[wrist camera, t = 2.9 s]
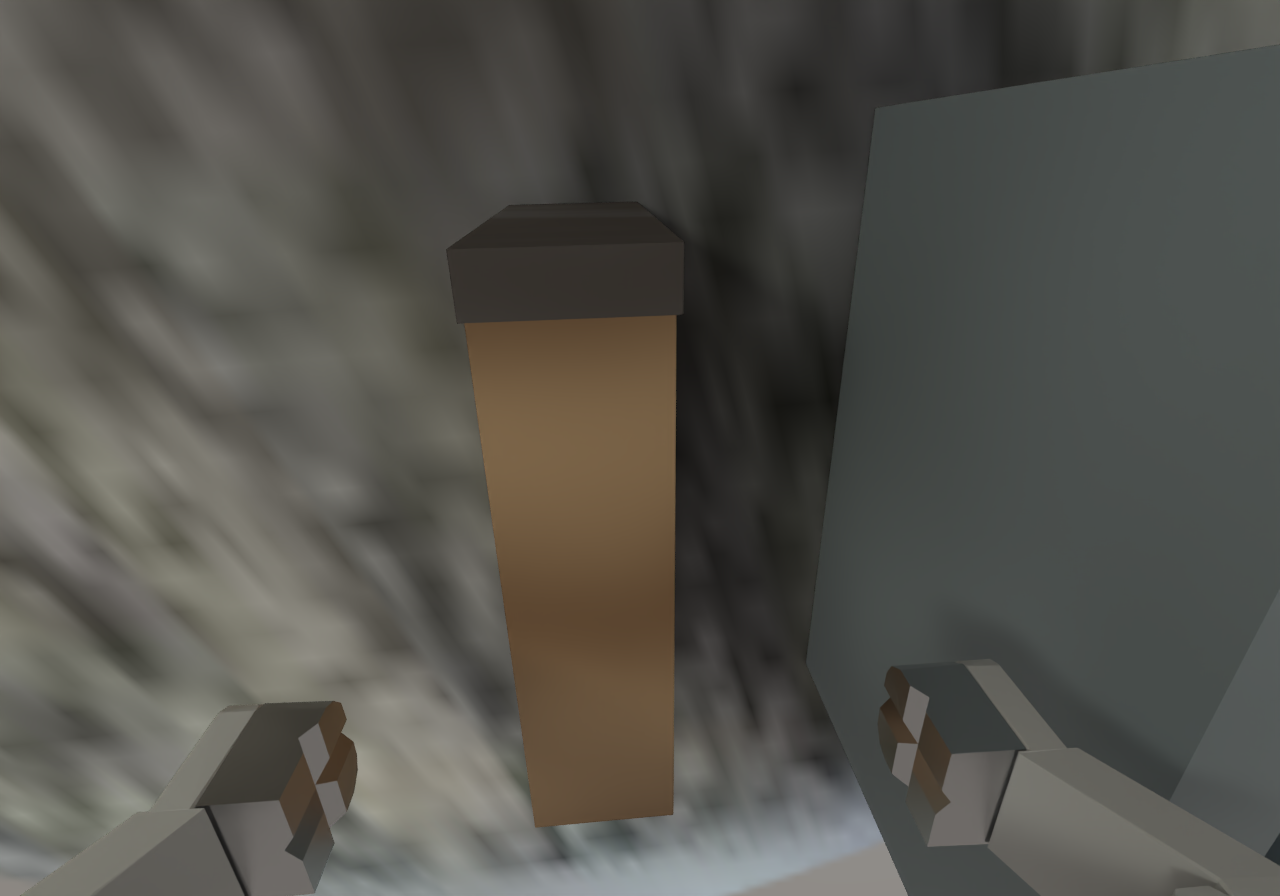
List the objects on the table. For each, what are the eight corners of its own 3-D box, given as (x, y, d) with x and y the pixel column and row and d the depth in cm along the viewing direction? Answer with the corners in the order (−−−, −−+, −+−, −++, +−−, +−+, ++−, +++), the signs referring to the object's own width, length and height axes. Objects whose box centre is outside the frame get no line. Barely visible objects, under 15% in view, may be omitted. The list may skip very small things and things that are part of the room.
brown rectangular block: (644, 586, 21) (677, 814, 14) (548, 592, 21) (530, 828, 13) (637, 202, 16) (684, 242, 9) (509, 205, 16) (446, 249, 8)
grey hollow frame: (805, 663, 23) (1005, 1115, 12) (875, 107, 15) (1587, -3, 4) (1038, 644, 24) (1425, 1060, 13) (1217, 102, 16) (2569, -8, 5)
